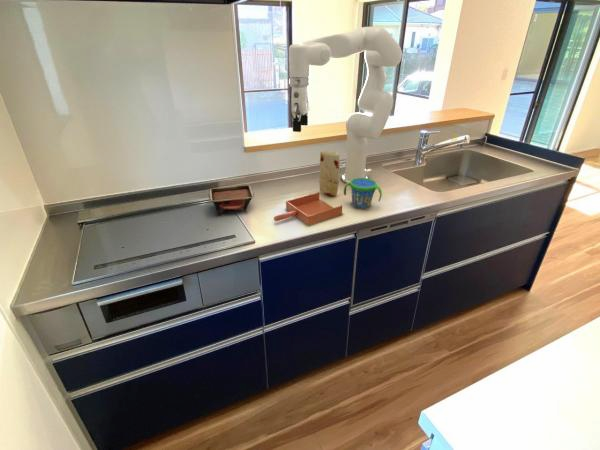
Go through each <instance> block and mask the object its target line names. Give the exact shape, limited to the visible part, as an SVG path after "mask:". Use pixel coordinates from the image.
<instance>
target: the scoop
mask: <svg viewBox="0 0 600 450" xmlns="http://www.w3.org/2000/svg"><path fill="white" fill-rule="evenodd" d="M320 193H321V191H317V192H313V193H309V194H305V195H303V196H299V197H294V198H292V199H288V200H286V201H285V209H286V210H287V211H288V212H285V213H282V214H278V215H275V216H274V217H273V221H274V222H279V221H282V220H286V219H289V218H292V217H297V219H300V220H301V221H302V222H303V223H305V224H306V225H307V226H312V225H315V224H318V223H320V222H324V221H326V220H329V219H333V218H336V217H339V216H341V215H343V204H341V205H338V206H335V207H332V206H331V205H330V204H327V203H326V202H324V201H323V200H321V199H320V196H321V195H320Z"/></svg>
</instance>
